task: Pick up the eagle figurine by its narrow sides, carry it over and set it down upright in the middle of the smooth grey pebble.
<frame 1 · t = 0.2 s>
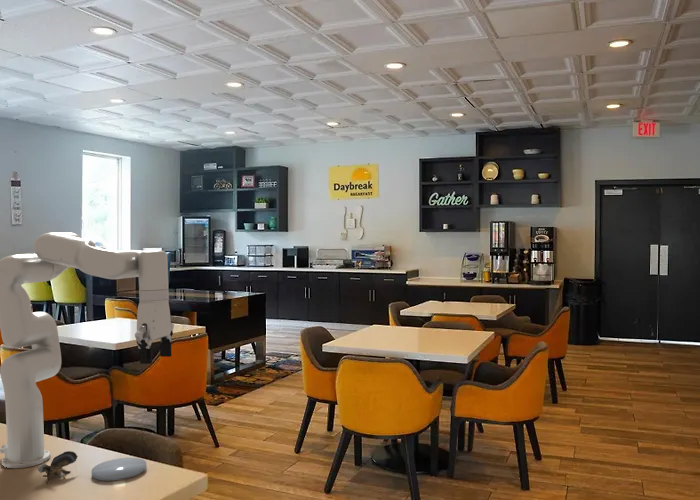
hand: (156, 359, 167), 31 cm above the table, fingers open, 9 cm apart
eagle figurine: (58, 478, 166), on the table
smooth grey pebble: (119, 472, 169), on the table
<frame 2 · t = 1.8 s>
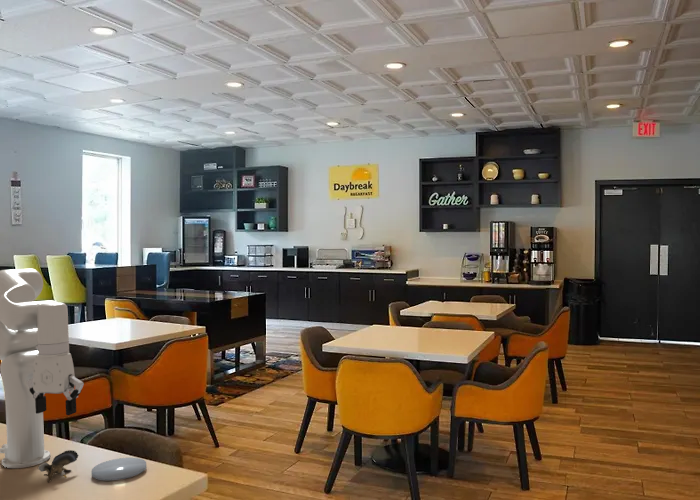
hand: (56, 413, 166), 18 cm above the table, fingers open, 9 cm apart
nothing on the table moved.
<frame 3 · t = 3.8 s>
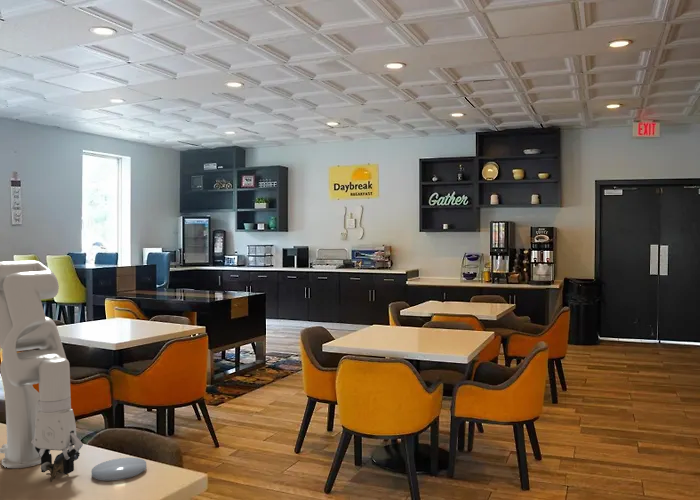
hand: (57, 471, 166), 2 cm above the table, fingers closed on eagle figurine, 6 cm apart
eagle figurine: (61, 476, 168), on the table, touching gripper
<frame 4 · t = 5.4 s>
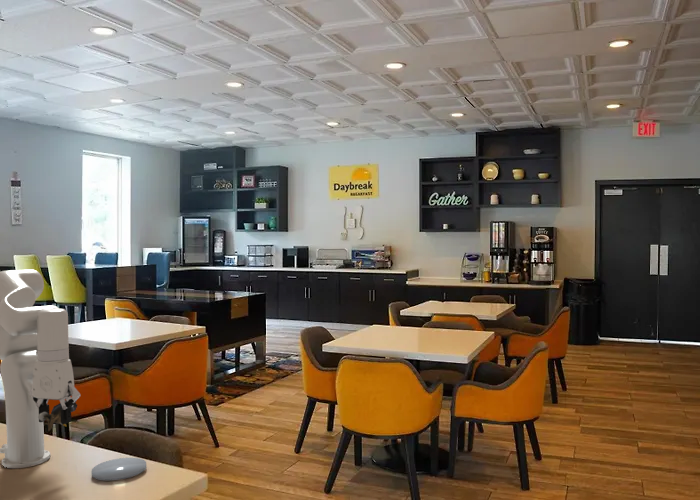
hand: (55, 421, 166), 15 cm above the table, fingers closed on eagle figurine, 6 cm apart
eagle figurine: (59, 427, 168), point 13 cm above the table, touching gripper
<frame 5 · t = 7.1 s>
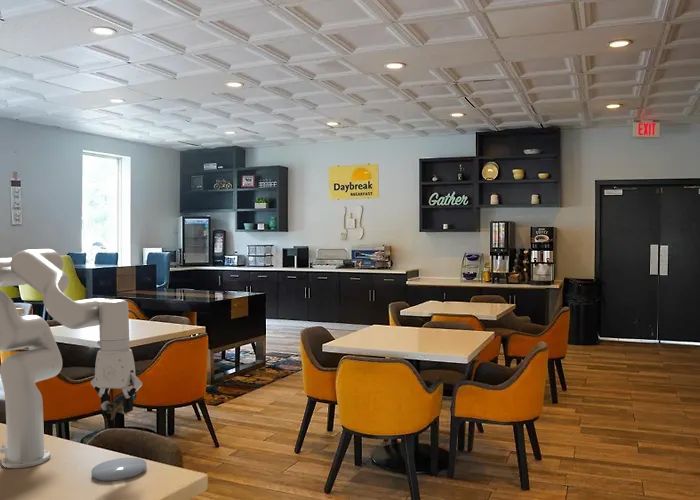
hand: (117, 410, 169), 17 cm above the table, fingers closed on eagle figurine, 6 cm apart
eagle figurine: (120, 416, 170), point 15 cm above the table, touching gripper
when the fingers open (5 cm above the table, at t = 9.7 s): eagle figurine drops 1 cm, resting on smooth grey pebble.
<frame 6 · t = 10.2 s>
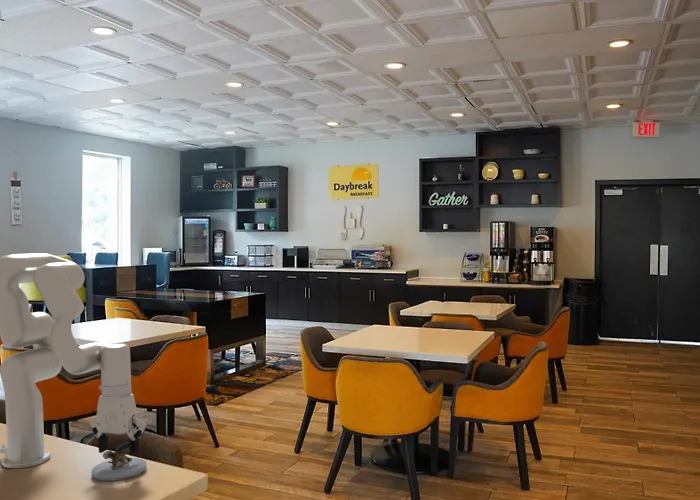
hand: (118, 452, 169), 6 cm above the table, fingers open, 9 cm apart
eagle figurine: (122, 465, 170), point 1 cm above the table, touching smooth grey pebble
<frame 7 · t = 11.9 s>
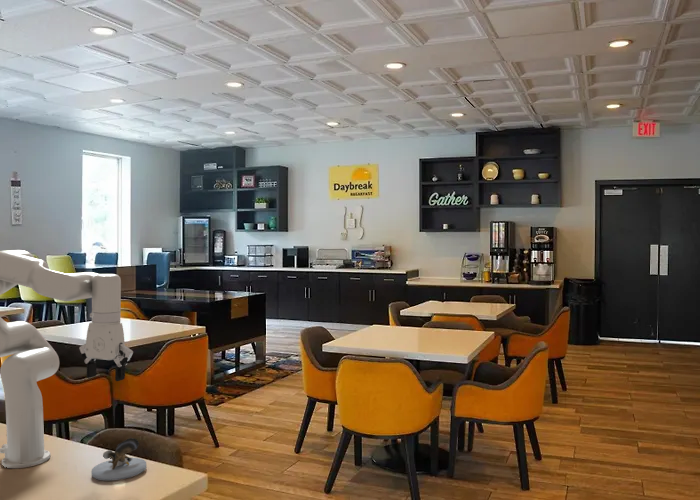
hand: (105, 378, 175), 24 cm above the table, fingers open, 9 cm apart
nothing on the table moved.
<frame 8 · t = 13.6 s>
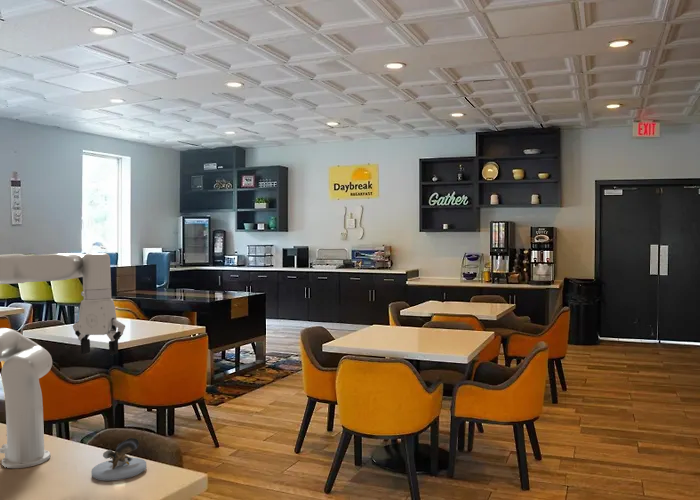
hand: (99, 353, 182), 30 cm above the table, fingers open, 9 cm apart
nothing on the table moved.
at the end: eagle figurine inside the target area on the smooth grey pebble (2.1 cm from its centre), point 1.4 cm above the smooth grey pebble's base; eagle figurine tilted 1°; the gripper is holding nothing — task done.
